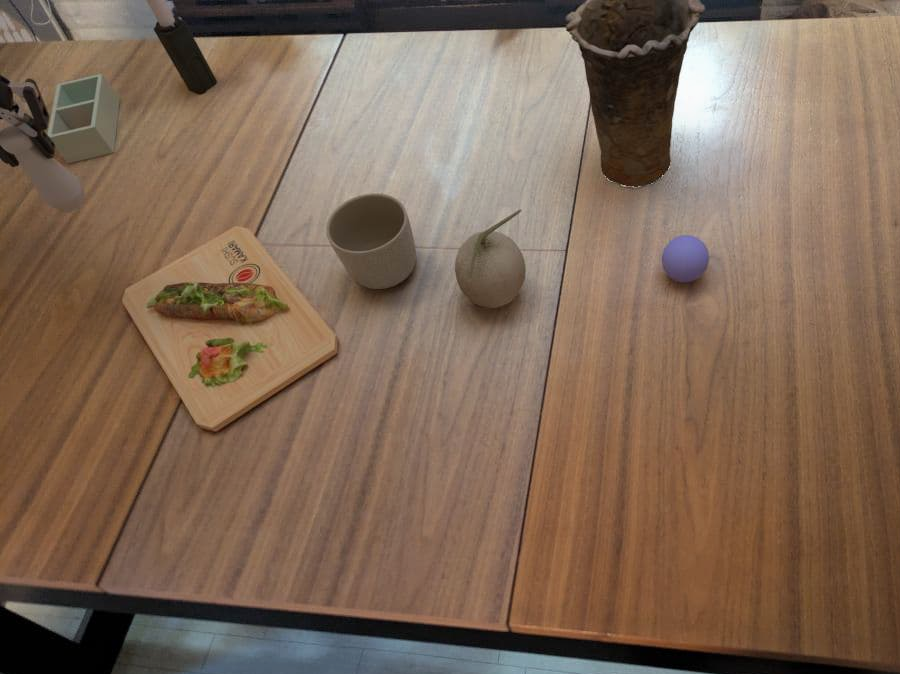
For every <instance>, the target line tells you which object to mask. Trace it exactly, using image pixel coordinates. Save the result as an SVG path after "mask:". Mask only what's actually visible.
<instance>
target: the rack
mask: <svg viewBox="0 0 900 674" xmlns="http://www.w3.org/2000/svg"><path fill="white" fill-rule="evenodd" d="M53 98H54V99H53V104H52V109H51V114H50V117H49V123H48V128H47V133H46V134H47V135H48V136H49V137H50V138H51V140H52V141H53V142H54V143H55V146H56V148H55V151H57V153H58V154H59V155H60V156H61V157H62V159H63V160H64V161H65V162H66V164H68V165H69V164H73V163H77V162H81V161H86V160H90V159H94V158H98V157H102V156H106V155H111V154H114V153H115V148H116V147H115V145H116V136H117V129H118V120H119V113H120V112H119V111H120V104H121V103H120V102H121V99H120V97H119V96H118V94H117V93H116V92H115V91H114V89H113V87H112V85H110V83H109V81H108V80H107V79H106V77H105V76H104V74H103V73H98V74H95V75H90V76H85V77H81V78H78V79H77V78H76V79H73V80H67V81H65V82H60V83H57V84H56V88H55V93H54V97H53Z"/></svg>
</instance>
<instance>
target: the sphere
mask: <svg viewBox="0 0 900 674" xmlns="http://www.w3.org/2000/svg"><path fill="white" fill-rule="evenodd" d="M709 261H710V253H709V249H708V247H707V246H706V244H705V243H704V242H703V240H701V239H700V238H699V237H697V236H694V235H690V234H683V235H678V236H676V237H674V238H673V239H671V240H670V241H669V242H668V243H667V244H666V246H664V248H663V251H662V255H661V265H662V268H663V270H664V272H665V274H666V275H667V276H668V277H669V278H671V279H672V280H673V281H675V282H678V283H691V282H693V281H696V280H697V279H699V278H700V277H702V276H703V275H704V273H705V272H706V270H707V268H708V266H709Z"/></svg>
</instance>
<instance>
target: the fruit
mask: <svg viewBox="0 0 900 674" xmlns="http://www.w3.org/2000/svg"><path fill="white" fill-rule="evenodd" d="M521 212H522V209H520V208H519V209H518V210H517V211H514V213H512V214H510V215H509V216H507V217H505V218H504V219H502V220H500V221H499V222H497V223H496V224H494V225H492V226H491V227H489V228H488V229H486V230H484V231H479V232H476V233H473V234H472V235H470V236H469V237H468V238H467V239H466V240H465V241H464V242H463V244H462V245H461V246H460V247H459V249H458V252H457V254H456V257H455V260H454V273H455V278H456V282H457V285H458V286H459V289H460V291H461V292H462V294H463V295H464V296H465V297H466V298H467V299H468V300H469V301H471V303H473V304H475V305H477V306H481V307H484V308H490V309H495V308H500V307H504V306H506V305H507V304H509V303H510V302H513V300H514V299H515V298H516V297H517V296H518V294H519V293H520V291H521V290H522V288H523V285H524V283H525V280H526V273H527V272H526V271H527V269H526V262H525V258H524V255H523V253H522V251H521V249H520V247H519V245H518V244H517V243H516V242H515V241H514V240H513V239H512V238H511V237H510V236H508V235H506V234H504V233H503V232H499V231H496V230H497V229H499V228H500V227H502V226H503V225H505V224H506V223H508V222H509V221H510V220H512V219H513V218H515V217H516V216H517V215H519V214H520V213H521Z"/></svg>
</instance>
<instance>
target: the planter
mask: <svg viewBox="0 0 900 674" xmlns="http://www.w3.org/2000/svg"><path fill="white" fill-rule="evenodd" d="M325 233H326V237H327V240H328V242H329V244H330V246H331V248H332V249H333V251H334V253H335V255H336V256H337V258H338V259H339V261H340V262H341V264H342V266H343V267H344V269H345V270H346V271H347V273H348V274H349V276H350V277H351V278H352V279H353V280H354V281H355V282H356V283H358V284H359V285H360V286H361V287H362V286H363V287H365V288H367V289H373V290H384V289H390V288H392V287H395V286H397V285H400V284H401V283H402V282H404V281H405V280H406V279H407V278H408V277H409V276H410V275H411V274H412V273H413V270H414V268H415V265H416V261H417V250H416V243H415V238H414V234H413V230H412V226H411V221H410V218H409V215H408V212H407V209H406V208H405V206H404V204H403V203H402V202H401V201H400V200H399V199H397V198H395V197H394V196H393V195H389V194H385V193H379V192H378V193H377V192H376V193H365V194H361V195H358V196H354V197H352V198H350V199H348V200H346V201H344V202H343V203H341V204H340V205H339V206H338V207H336V208H335V210H334V211H332V213H331V215H330V216H329V217H328V219H327V222H326V228H325Z"/></svg>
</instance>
